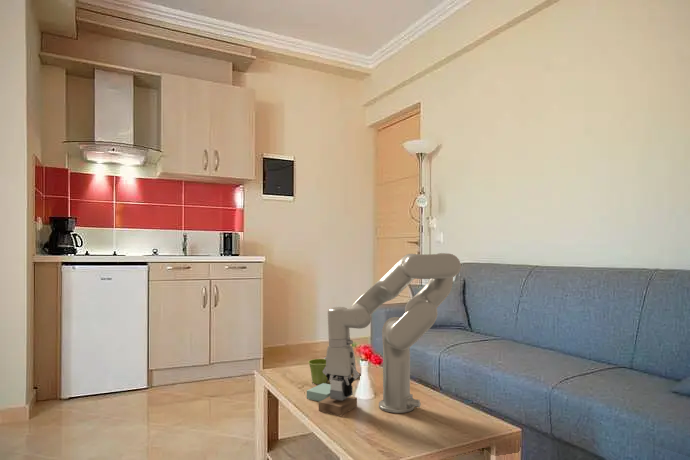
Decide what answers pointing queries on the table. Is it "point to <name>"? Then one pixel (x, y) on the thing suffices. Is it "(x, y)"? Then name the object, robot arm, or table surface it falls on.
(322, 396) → the stand teal
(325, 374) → the robot arm
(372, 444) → the table surface
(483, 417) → the table surface
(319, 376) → the plant pot
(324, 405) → the stand walnut
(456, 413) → the table surface
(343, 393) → the block
